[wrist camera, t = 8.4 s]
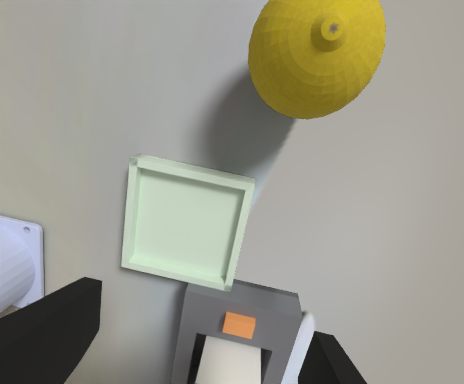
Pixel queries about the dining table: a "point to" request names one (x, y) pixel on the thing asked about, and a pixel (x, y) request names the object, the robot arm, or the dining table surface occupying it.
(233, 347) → the plug
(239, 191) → the tray
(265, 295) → the power strip
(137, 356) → the dining table surface
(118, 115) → the dining table surface
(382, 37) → the lemon
